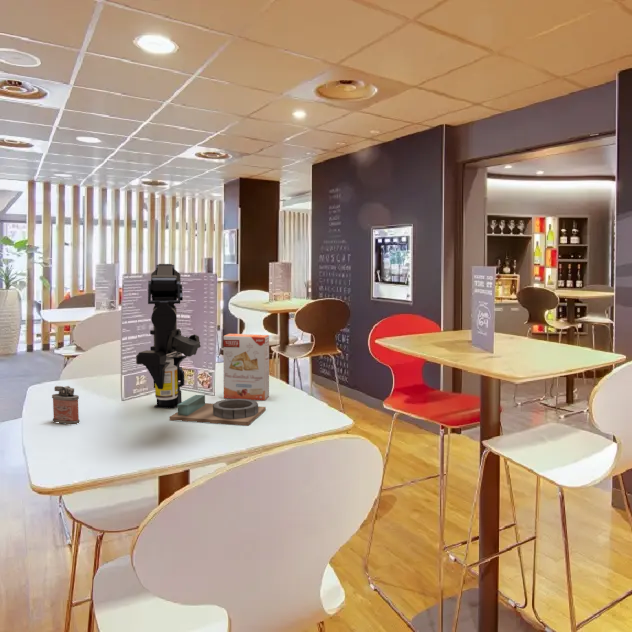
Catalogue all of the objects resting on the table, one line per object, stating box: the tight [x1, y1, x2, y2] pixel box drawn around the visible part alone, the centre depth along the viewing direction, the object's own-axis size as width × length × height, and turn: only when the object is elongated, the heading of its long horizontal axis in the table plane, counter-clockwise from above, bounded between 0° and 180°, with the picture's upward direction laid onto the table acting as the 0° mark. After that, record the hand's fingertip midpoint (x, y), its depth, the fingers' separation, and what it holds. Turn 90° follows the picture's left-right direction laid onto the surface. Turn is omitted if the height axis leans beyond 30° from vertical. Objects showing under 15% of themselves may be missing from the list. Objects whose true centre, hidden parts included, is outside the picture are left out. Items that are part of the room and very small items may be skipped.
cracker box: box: [223, 333, 270, 401], centre depth 170 cm, size 14×6×21 cm, turn 81°
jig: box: [169, 394, 267, 426], centre depth 151 cm, size 23×16×4 cm
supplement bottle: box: [154, 358, 178, 400], centre depth 133 cm, size 6×6×10 cm
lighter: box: [51, 385, 80, 425], centre depth 142 cm, size 8×3×10 cm, turn 71°
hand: (166, 386), depth 134 cm, fingers closed on supplement bottle, 6 cm apart
